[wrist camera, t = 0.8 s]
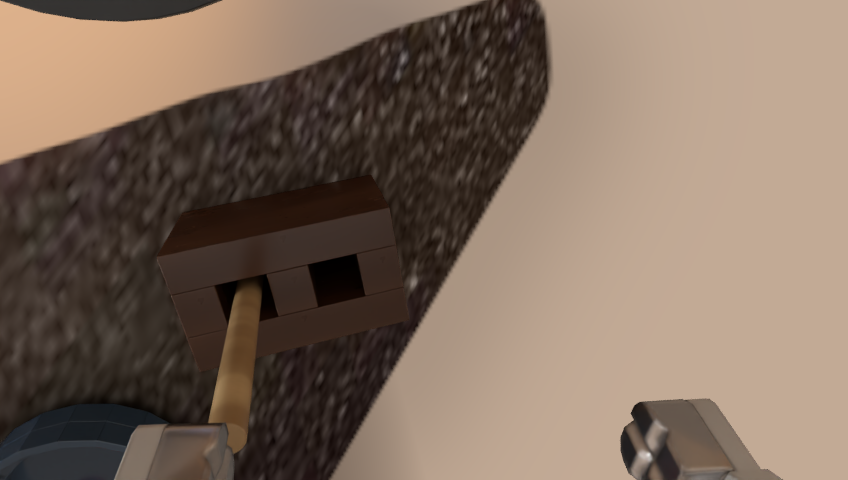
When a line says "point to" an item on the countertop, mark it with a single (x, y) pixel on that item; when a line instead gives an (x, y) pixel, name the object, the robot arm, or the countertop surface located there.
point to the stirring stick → (238, 363)
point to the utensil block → (287, 267)
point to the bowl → (72, 443)
